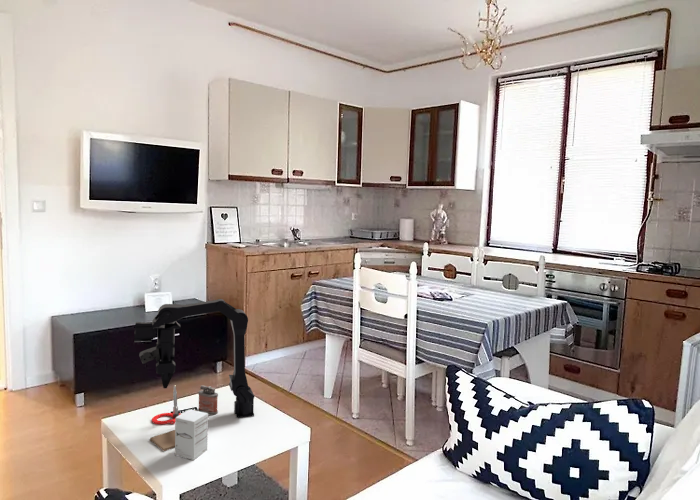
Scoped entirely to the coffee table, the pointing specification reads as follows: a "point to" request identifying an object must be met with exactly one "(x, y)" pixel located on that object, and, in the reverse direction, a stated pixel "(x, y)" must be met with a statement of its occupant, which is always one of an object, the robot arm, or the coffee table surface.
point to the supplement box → (191, 434)
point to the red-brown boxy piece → (208, 400)
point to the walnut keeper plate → (164, 440)
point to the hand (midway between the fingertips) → (164, 383)
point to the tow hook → (173, 415)
